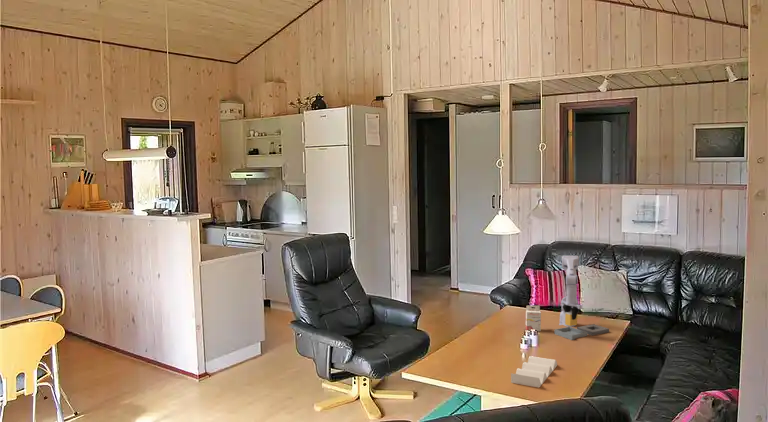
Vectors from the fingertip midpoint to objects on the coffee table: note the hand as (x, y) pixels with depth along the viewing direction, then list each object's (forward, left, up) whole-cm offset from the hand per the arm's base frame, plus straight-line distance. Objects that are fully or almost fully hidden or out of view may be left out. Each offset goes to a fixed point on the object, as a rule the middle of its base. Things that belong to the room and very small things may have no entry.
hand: (571, 318), depth 354 cm
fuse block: (+2, +16, -10) cm, 19 cm away
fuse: (0, 0, -4) cm, 4 cm away
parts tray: (0, 0, -10) cm, 10 cm away
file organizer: (+38, -61, -11) cm, 73 cm away
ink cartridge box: (-20, -11, -10) cm, 25 cm away
